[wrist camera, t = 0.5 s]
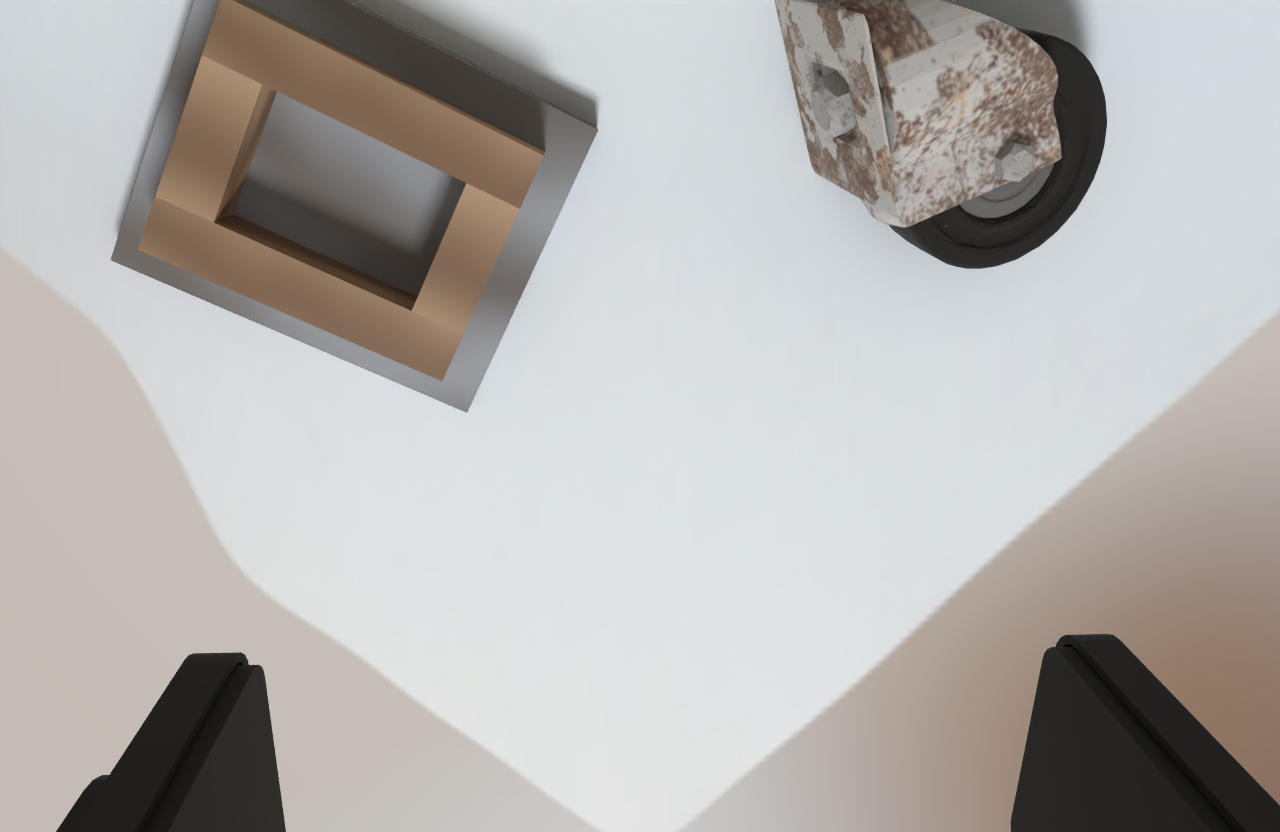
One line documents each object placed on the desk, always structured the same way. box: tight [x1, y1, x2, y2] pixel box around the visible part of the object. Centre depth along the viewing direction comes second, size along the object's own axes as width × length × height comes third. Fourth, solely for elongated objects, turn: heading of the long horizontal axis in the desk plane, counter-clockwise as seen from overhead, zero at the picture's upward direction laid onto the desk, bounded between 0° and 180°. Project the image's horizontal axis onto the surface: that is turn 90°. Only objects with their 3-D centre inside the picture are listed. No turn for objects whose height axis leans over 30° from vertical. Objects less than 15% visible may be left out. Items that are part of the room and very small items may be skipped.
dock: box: [111, 0, 598, 412], centre depth 34 cm, size 12×14×3 cm
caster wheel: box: [775, 0, 1107, 269], centre depth 33 cm, size 7×11×10 cm
